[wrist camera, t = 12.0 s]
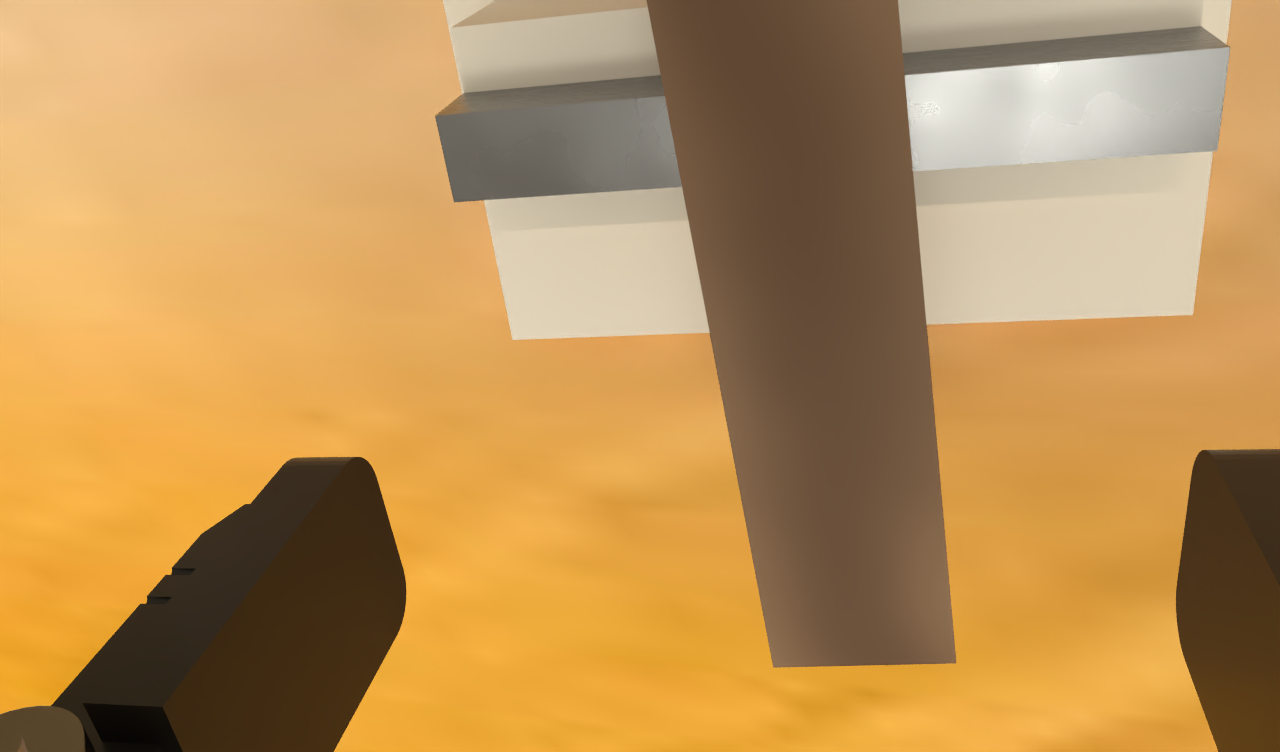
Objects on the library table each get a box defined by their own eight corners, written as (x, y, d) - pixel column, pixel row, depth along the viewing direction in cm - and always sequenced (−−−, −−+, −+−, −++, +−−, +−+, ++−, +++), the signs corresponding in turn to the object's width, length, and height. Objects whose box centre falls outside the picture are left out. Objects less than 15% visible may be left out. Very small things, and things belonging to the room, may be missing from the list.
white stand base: (1255, -366, 24) (1431, -430, 16) (1179, 292, 31) (1276, 450, 24) (416, -230, 28) (260, -234, 21) (525, 319, 35) (438, 459, 28)
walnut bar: (844, -566, 17) (840, -654, 13) (943, 549, 27) (956, 663, 23) (602, -492, 18) (541, -556, 14) (784, 557, 28) (773, 667, 24)
